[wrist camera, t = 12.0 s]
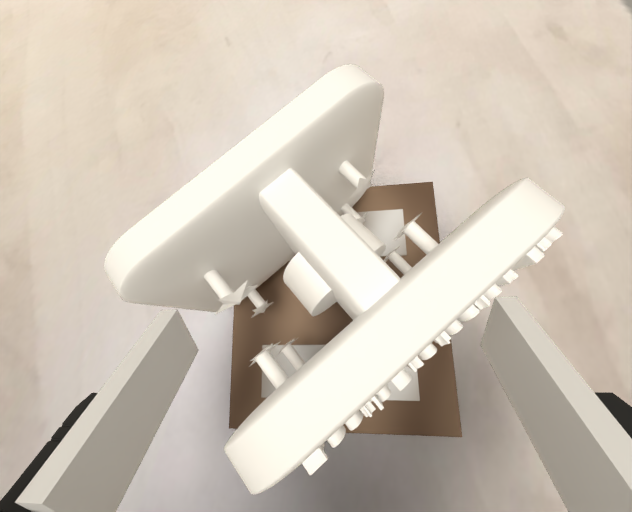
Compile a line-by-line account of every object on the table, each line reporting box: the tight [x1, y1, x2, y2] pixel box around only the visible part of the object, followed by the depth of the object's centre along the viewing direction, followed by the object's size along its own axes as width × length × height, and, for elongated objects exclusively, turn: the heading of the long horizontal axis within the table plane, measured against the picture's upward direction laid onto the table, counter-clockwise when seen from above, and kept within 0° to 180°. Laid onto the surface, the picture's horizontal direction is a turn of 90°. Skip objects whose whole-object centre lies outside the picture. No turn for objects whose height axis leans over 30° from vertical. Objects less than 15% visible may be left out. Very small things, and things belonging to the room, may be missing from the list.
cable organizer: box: [104, 64, 565, 495], centre depth 15 cm, size 15×11×12 cm
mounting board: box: [229, 182, 462, 437], centre depth 21 cm, size 16×18×2 cm
